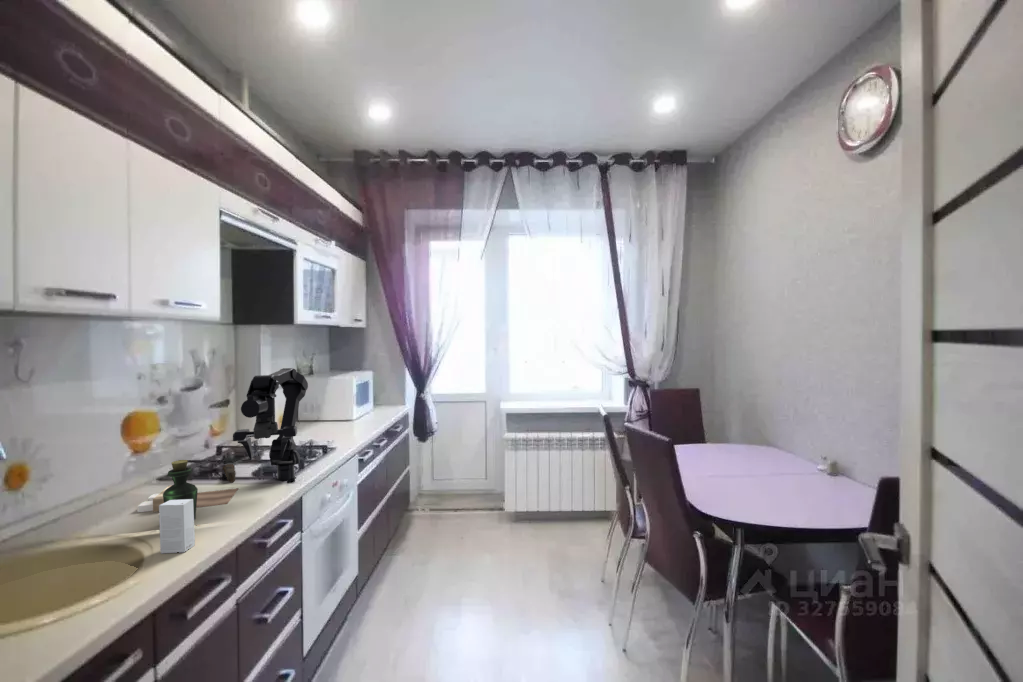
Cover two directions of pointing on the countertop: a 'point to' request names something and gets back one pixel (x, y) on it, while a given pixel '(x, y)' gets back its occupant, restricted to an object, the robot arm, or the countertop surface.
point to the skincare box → (176, 526)
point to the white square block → (145, 506)
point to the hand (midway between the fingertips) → (266, 458)
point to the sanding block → (158, 500)
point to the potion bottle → (181, 484)
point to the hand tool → (230, 472)
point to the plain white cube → (152, 497)
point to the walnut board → (215, 497)
